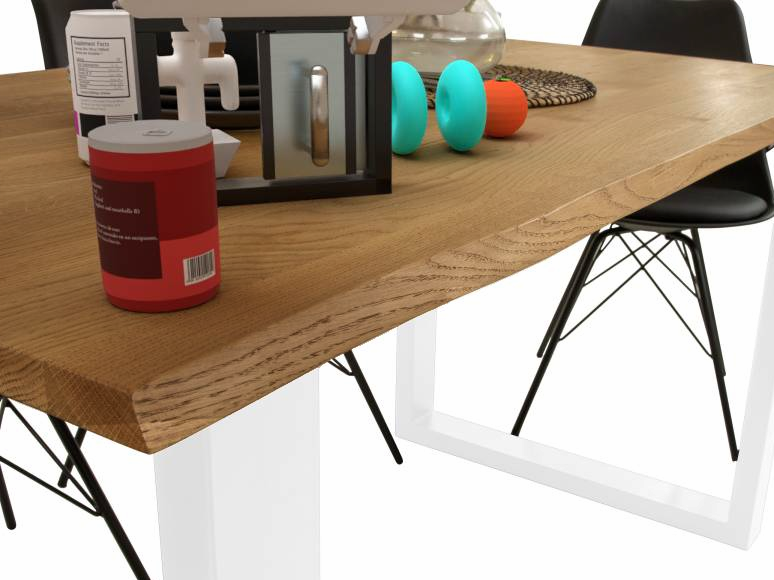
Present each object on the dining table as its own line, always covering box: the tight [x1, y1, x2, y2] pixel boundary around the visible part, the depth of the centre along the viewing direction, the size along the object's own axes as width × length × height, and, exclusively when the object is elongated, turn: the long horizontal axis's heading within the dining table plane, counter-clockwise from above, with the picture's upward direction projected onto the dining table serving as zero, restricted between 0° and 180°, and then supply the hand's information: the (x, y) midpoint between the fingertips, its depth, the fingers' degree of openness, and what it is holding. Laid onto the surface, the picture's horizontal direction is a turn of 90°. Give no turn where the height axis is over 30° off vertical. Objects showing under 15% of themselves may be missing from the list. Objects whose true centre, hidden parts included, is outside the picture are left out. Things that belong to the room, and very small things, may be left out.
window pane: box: [256, 31, 357, 180], centre depth 88 cm, size 9×5×13 cm, turn 112°
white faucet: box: [157, 32, 242, 179], centre depth 97 cm, size 7×9×15 cm
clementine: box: [483, 76, 529, 138], centre depth 121 cm, size 8×7×7 cm
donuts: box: [392, 59, 487, 156], centre depth 111 cm, size 10×10×10 cm
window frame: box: [129, 14, 393, 207], centre depth 90 cm, size 22×4×16 cm, turn 112°
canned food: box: [88, 119, 222, 313], centre depth 66 cm, size 8×8×11 cm
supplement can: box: [64, 8, 138, 167], centre depth 102 cm, size 8×8×15 cm
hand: (286, 47), depth 62 cm, fingers open, 8 cm apart
